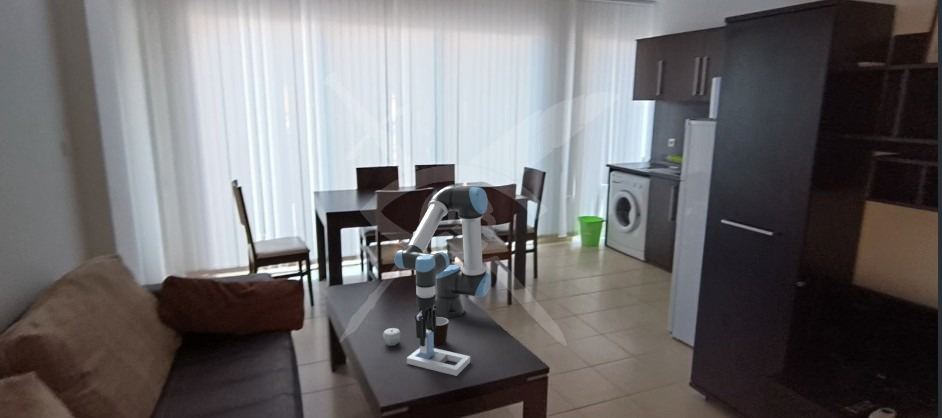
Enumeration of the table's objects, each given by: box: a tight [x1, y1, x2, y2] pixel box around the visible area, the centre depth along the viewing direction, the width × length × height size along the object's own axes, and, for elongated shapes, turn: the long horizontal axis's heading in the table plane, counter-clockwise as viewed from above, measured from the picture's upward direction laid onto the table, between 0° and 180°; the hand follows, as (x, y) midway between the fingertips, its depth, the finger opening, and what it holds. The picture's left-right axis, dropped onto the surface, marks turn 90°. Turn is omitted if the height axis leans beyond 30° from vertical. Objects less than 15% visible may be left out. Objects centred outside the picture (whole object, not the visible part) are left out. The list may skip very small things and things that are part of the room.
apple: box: [382, 327, 402, 347], centre depth 221 cm, size 8×8×7 cm
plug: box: [420, 329, 435, 360], centre depth 207 cm, size 4×4×11 cm
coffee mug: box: [433, 316, 449, 347], centre depth 224 cm, size 12×9×10 cm
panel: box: [406, 347, 471, 377], centre depth 206 cm, size 12×22×2 cm, turn 65°
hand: (426, 350), depth 208 cm, fingers closed on plug, 4 cm apart
